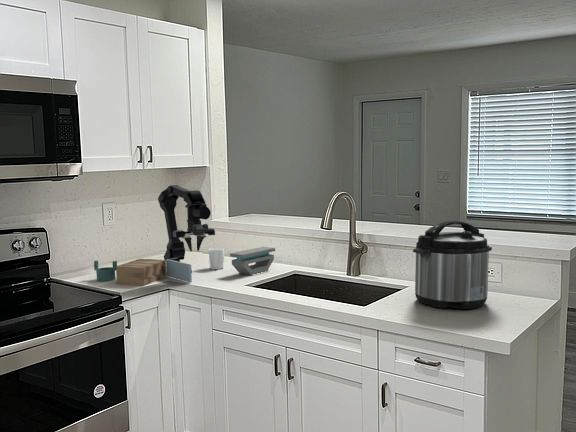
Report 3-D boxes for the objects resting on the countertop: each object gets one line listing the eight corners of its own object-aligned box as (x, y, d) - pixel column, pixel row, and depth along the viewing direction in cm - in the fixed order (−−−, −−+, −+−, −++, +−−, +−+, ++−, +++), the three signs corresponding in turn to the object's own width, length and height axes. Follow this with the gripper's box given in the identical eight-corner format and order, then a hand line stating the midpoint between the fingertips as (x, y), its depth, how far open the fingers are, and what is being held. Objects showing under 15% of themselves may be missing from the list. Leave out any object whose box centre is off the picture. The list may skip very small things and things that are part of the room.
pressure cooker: (483, 294, 238) (486, 217, 235) (498, 313, 210) (501, 225, 207) (408, 292, 242) (410, 216, 239) (413, 310, 214) (414, 224, 211)
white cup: (222, 270, 292) (221, 250, 291) (207, 269, 293) (206, 250, 292) (226, 267, 300) (226, 247, 299) (211, 266, 301) (211, 247, 300)
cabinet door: (166, 276, 277) (165, 259, 276) (169, 275, 278) (168, 258, 277) (189, 282, 262) (189, 264, 261) (193, 281, 263) (192, 264, 262)
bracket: (118, 280, 270) (117, 261, 269) (97, 282, 265) (97, 263, 265) (113, 277, 278) (112, 258, 277) (93, 279, 273) (92, 260, 272)
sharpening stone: (242, 277, 273) (242, 254, 272) (230, 275, 278) (229, 253, 277) (275, 269, 293) (275, 247, 292) (263, 267, 298) (263, 246, 297)
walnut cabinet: (140, 275, 281) (139, 258, 280) (166, 276, 277) (165, 260, 276) (116, 283, 262) (116, 266, 261) (144, 285, 258) (143, 267, 257)
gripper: (179, 220, 257) (180, 255, 259) (219, 218, 266) (219, 252, 268) (172, 218, 267) (172, 252, 269) (210, 216, 276) (211, 248, 277)
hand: (194, 251), depth 270 cm, fingers open, 3 cm apart
